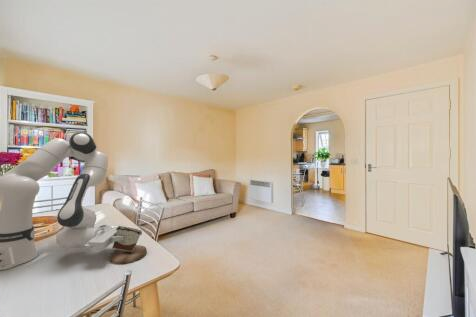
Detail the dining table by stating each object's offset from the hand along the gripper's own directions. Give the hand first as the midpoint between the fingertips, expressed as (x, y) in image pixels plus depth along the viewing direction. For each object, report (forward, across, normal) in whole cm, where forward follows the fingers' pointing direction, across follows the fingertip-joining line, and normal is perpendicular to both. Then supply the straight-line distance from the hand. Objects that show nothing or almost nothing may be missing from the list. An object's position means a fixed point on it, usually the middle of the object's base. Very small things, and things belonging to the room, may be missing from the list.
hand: (125, 236), depth 104 cm
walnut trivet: (+2, 0, +9) cm, 9 cm away
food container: (0, 0, +7) cm, 7 cm away
